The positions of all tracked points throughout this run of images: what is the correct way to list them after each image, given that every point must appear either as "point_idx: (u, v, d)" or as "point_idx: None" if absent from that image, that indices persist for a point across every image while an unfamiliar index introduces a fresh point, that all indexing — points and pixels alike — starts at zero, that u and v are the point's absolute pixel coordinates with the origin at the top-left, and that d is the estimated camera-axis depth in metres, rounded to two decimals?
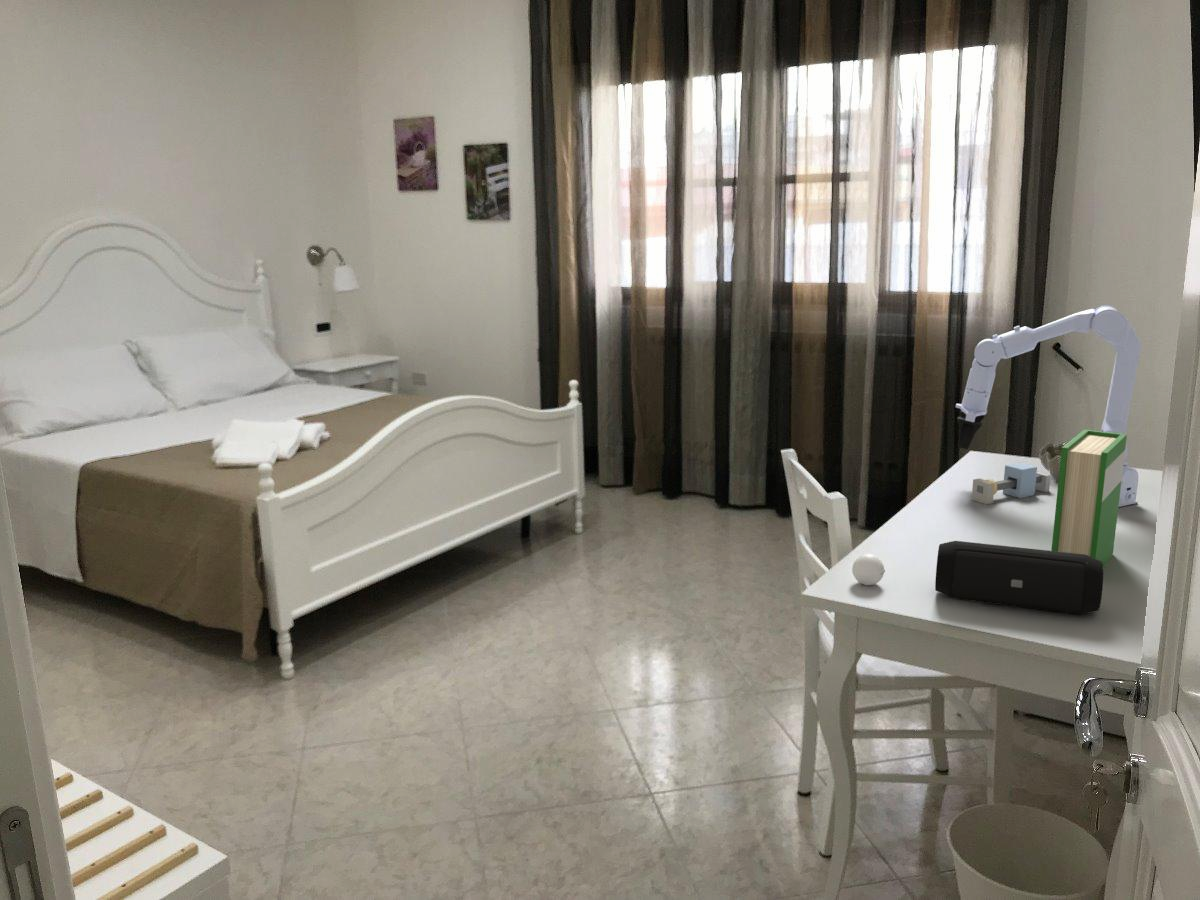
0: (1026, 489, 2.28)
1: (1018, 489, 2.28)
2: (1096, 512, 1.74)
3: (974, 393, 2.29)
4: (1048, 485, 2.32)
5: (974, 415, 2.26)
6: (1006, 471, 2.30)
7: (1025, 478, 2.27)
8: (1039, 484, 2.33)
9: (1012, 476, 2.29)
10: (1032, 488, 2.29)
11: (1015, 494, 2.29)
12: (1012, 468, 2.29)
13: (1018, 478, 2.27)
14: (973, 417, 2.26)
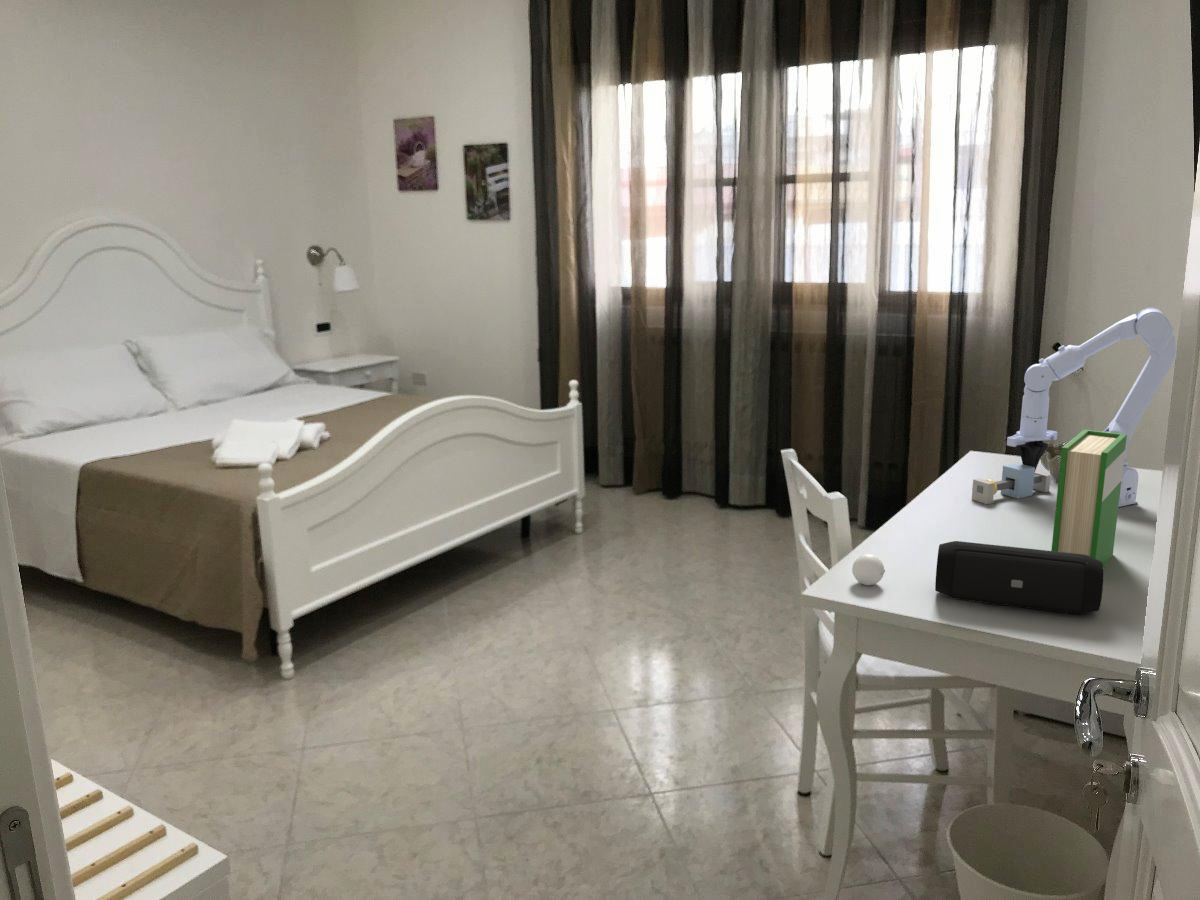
0: (1024, 489, 2.28)
1: (1016, 489, 2.27)
2: (1096, 512, 1.74)
3: (1023, 419, 2.27)
4: (1048, 485, 2.32)
5: (1013, 439, 2.25)
6: (1004, 471, 2.30)
7: (1023, 478, 2.27)
8: (1039, 484, 2.33)
9: (1010, 476, 2.29)
10: (1030, 488, 2.29)
11: (1013, 494, 2.29)
12: (1010, 468, 2.28)
13: (1016, 479, 2.27)
14: (1012, 441, 2.26)
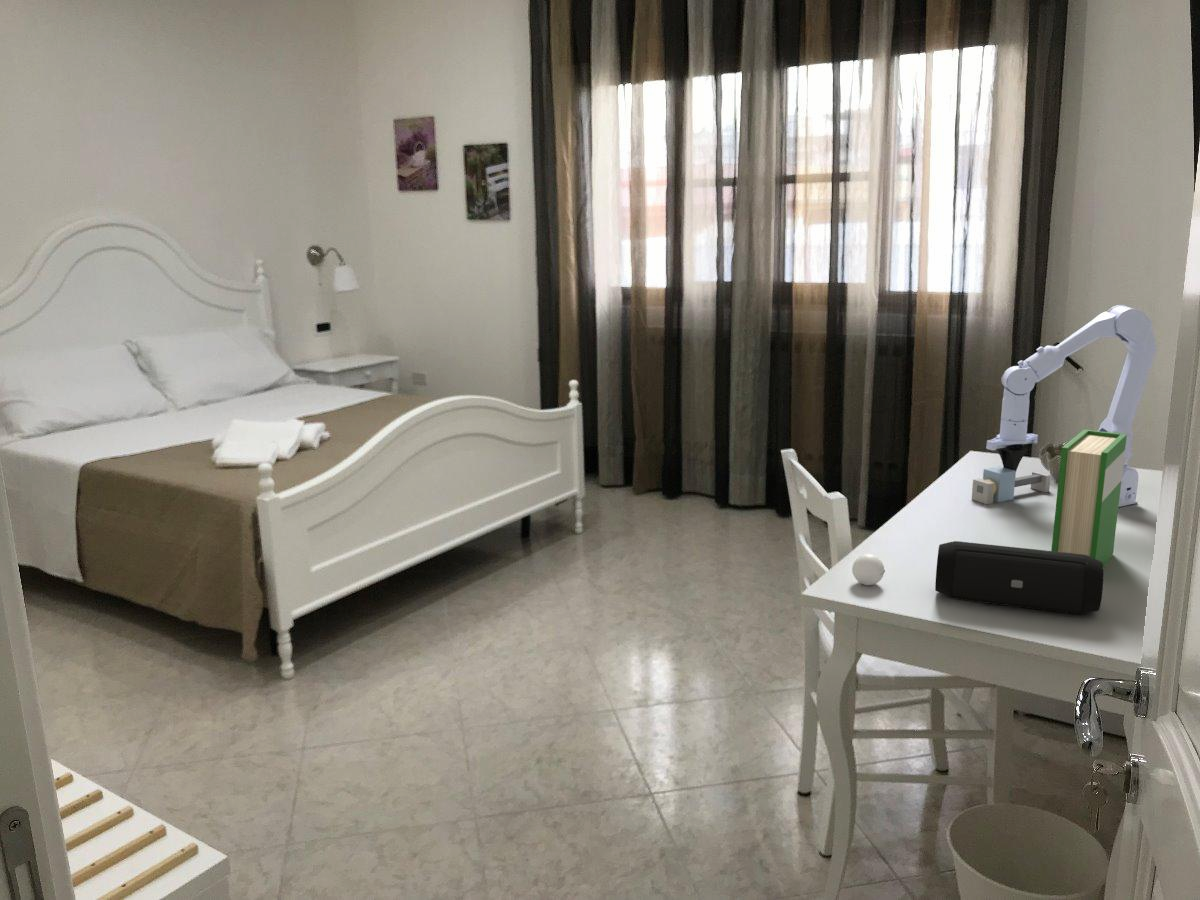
0: (1005, 493, 2.25)
1: (997, 493, 2.25)
2: (1096, 512, 1.74)
3: (1003, 422, 2.25)
4: (1048, 485, 2.32)
5: (992, 443, 2.22)
6: (985, 475, 2.27)
7: (1004, 482, 2.24)
8: (1039, 484, 2.33)
9: None
10: (1011, 492, 2.26)
11: (994, 498, 2.26)
12: (991, 472, 2.26)
13: (997, 482, 2.24)
14: (992, 445, 2.23)
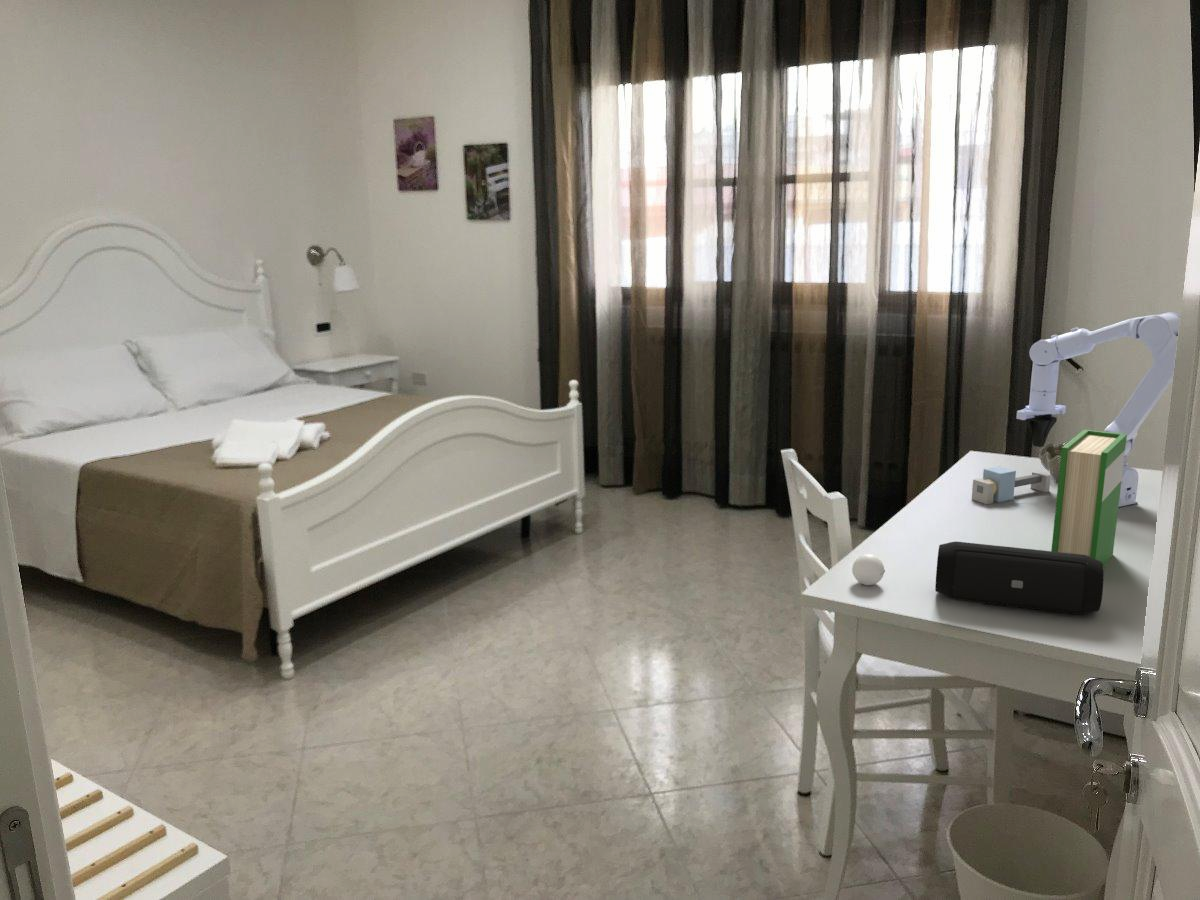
0: (1005, 493, 2.25)
1: (997, 493, 2.25)
2: (1096, 512, 1.74)
3: (1033, 393, 2.31)
4: (1048, 485, 2.32)
5: (1022, 413, 2.29)
6: (985, 475, 2.27)
7: (1004, 482, 2.24)
8: (1039, 484, 2.33)
9: None
10: (1011, 492, 2.26)
11: (994, 498, 2.26)
12: (991, 472, 2.26)
13: (997, 482, 2.24)
14: (1022, 415, 2.30)
